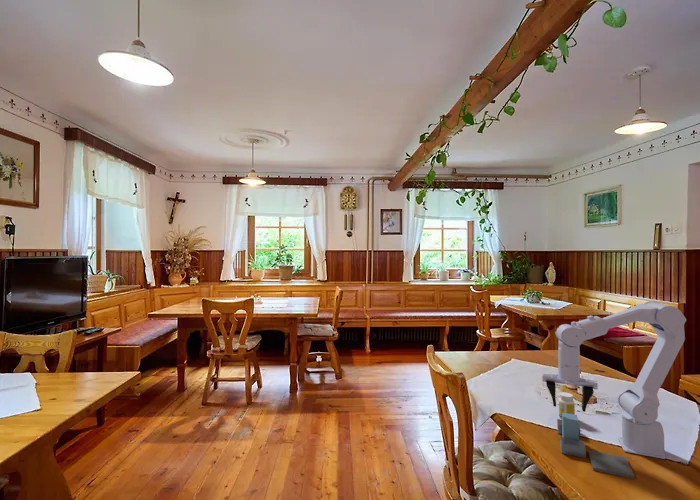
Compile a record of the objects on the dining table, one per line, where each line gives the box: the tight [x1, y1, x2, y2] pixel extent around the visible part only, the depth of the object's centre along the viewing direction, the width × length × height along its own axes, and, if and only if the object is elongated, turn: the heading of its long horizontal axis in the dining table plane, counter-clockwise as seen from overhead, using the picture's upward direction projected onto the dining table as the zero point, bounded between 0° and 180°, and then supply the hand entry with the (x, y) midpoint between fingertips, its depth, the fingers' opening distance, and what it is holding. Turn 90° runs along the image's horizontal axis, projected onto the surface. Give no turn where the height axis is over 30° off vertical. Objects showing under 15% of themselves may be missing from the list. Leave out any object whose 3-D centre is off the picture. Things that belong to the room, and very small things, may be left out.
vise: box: [556, 418, 587, 459], centre depth 112 cm, size 6×19×3 cm, turn 154°
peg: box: [561, 413, 580, 440], centre depth 111 cm, size 4×4×8 cm
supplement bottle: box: [558, 391, 576, 420], centre depth 126 cm, size 5×5×8 cm
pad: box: [587, 449, 635, 480], centre depth 99 cm, size 9×9×1 cm
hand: (568, 407), depth 111 cm, fingers open, 7 cm apart
